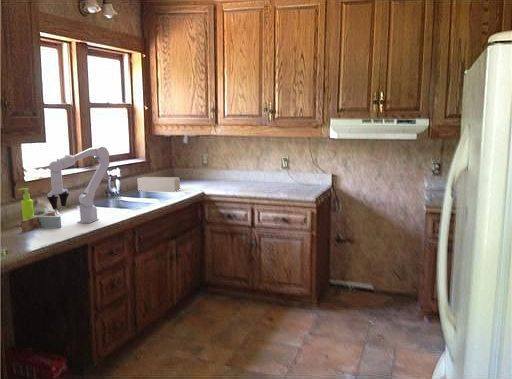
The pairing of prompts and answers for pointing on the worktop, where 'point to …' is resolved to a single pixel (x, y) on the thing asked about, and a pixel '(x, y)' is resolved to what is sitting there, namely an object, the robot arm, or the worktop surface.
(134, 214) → the worktop surface
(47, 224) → the grey block
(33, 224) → the walnut board
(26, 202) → the soap dispenser
